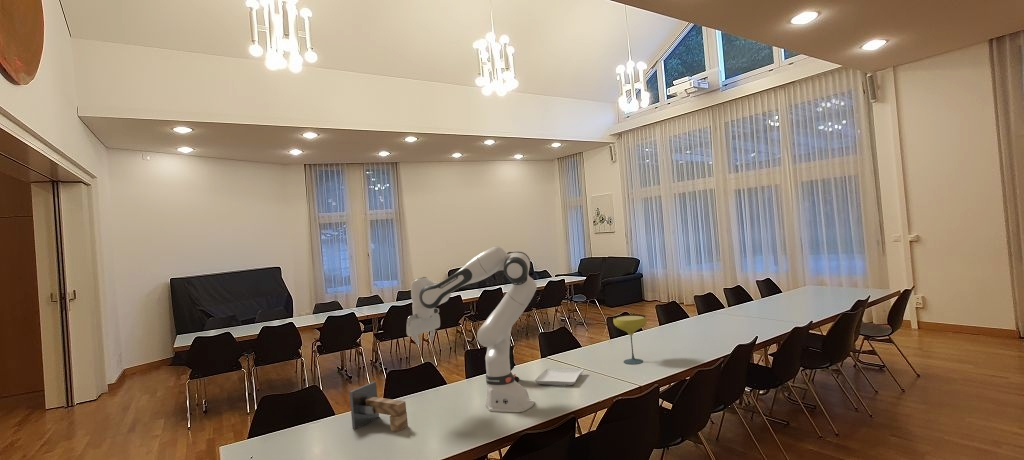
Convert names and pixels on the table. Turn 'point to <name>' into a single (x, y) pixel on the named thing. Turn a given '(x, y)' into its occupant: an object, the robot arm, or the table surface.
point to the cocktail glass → (630, 329)
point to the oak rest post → (398, 422)
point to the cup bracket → (362, 405)
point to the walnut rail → (387, 406)
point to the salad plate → (559, 376)
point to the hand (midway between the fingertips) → (425, 341)
